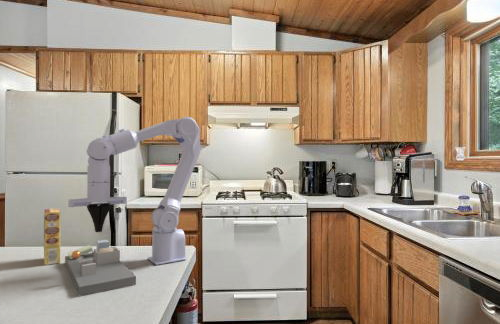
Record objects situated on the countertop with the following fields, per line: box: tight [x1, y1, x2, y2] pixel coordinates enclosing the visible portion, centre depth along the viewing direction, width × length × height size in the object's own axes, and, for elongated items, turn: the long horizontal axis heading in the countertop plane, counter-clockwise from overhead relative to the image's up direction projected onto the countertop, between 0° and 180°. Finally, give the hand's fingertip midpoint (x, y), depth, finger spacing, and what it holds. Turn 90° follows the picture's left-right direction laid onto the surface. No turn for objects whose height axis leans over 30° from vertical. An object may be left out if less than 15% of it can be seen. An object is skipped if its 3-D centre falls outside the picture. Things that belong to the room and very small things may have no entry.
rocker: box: [67, 244, 94, 259], centre depth 93 cm, size 6×4×1 cm
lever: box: [72, 250, 87, 265], centre depth 79 cm, size 2×3×6 cm
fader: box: [96, 239, 110, 249], centre depth 96 cm, size 3×4×4 cm
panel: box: [64, 246, 137, 297], centre depth 85 cm, size 12×30×5 cm, turn 35°
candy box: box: [43, 208, 62, 266], centre depth 96 cm, size 9×4×15 cm, turn 33°
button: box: [99, 248, 114, 253], centre depth 89 cm, size 4×4×3 cm
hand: (98, 231), depth 88 cm, fingers closed
